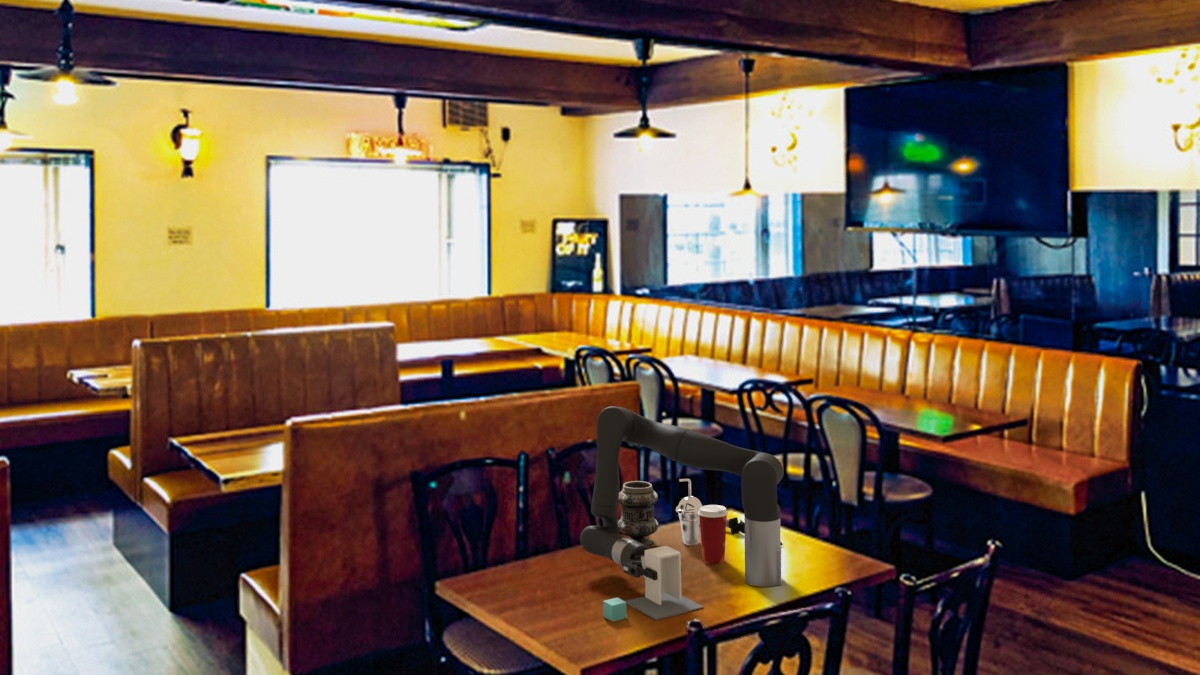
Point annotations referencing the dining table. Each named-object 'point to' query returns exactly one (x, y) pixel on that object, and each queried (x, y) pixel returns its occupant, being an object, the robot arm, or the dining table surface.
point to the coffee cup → (713, 533)
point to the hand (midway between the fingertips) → (668, 573)
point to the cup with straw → (689, 517)
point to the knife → (737, 526)
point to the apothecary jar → (638, 511)
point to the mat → (663, 606)
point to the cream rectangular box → (663, 573)
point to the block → (614, 609)
